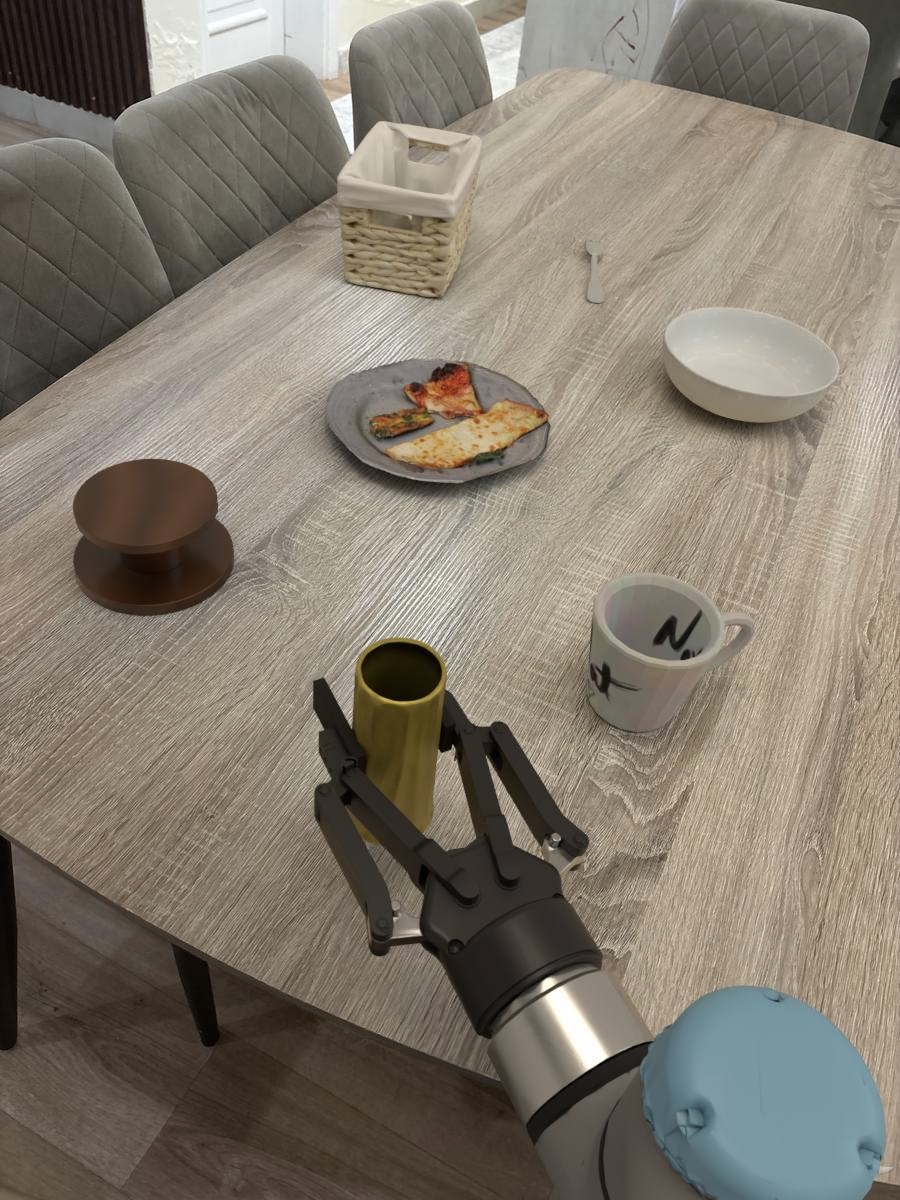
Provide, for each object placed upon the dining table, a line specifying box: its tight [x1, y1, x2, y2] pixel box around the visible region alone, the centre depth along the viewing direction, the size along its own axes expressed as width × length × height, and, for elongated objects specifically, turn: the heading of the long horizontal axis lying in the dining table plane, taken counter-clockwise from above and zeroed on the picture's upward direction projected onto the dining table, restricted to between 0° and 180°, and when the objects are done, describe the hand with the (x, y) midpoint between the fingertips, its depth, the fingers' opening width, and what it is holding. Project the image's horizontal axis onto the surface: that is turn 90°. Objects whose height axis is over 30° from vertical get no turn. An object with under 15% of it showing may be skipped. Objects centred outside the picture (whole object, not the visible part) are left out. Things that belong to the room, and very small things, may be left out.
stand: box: [72, 458, 235, 616], centre depth 84 cm, size 14×14×7 cm
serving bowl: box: [662, 306, 840, 423], centre depth 115 cm, size 21×21×7 cm
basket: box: [336, 120, 484, 298], centre depth 131 cm, size 24×16×15 cm
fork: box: [585, 239, 605, 304], centre depth 139 cm, size 3×21×3 cm, turn 175°
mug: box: [586, 571, 756, 733], centre depth 77 cm, size 10×15×10 cm
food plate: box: [323, 357, 552, 484], centre depth 104 cm, size 25×23×4 cm
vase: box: [345, 636, 448, 847], centre depth 59 cm, size 6×6×14 cm
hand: (362, 679), depth 61 cm, fingers closed on vase, 5 cm apart
